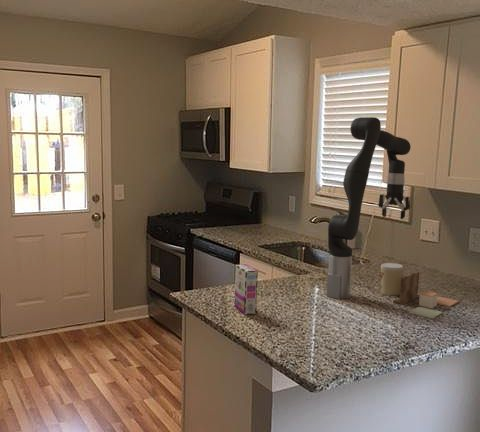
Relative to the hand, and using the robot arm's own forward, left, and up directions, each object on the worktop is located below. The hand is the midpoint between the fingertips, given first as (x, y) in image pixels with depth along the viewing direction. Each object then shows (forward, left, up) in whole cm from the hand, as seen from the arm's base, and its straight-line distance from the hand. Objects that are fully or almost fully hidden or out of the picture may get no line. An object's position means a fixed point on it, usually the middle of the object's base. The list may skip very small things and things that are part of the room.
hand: (393, 217), depth 243 cm
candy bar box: (-85, +15, -29) cm, 91 cm away
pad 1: (-38, -34, -29) cm, 59 cm away
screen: (-28, -22, -29) cm, 46 cm away
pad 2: (-19, -33, -29) cm, 48 cm away
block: (-28, -31, -29) cm, 51 cm away
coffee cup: (-23, -12, -29) cm, 39 cm away
